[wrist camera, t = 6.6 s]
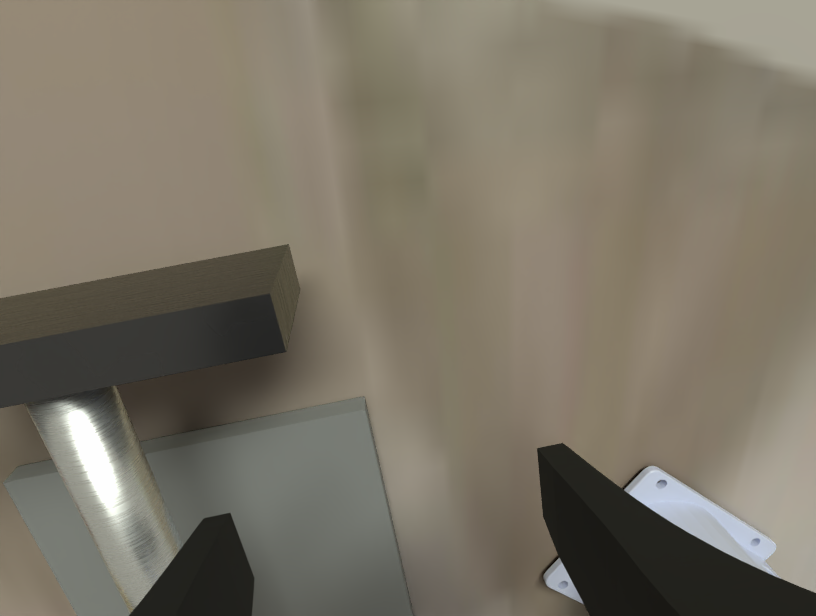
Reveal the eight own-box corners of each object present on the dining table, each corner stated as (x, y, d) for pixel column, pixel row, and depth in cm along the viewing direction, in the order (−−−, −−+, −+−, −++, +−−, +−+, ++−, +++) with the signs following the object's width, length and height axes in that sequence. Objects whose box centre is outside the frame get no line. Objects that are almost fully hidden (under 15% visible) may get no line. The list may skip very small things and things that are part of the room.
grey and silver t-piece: (-115, 320, 16) (-280, 398, 12) (288, 244, 16) (269, 293, 12) (139, 758, 24) (95, 898, 20) (404, 698, 24) (417, 821, 20)
